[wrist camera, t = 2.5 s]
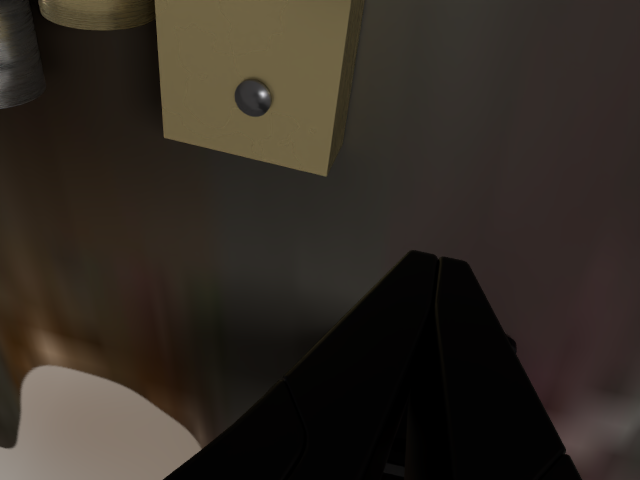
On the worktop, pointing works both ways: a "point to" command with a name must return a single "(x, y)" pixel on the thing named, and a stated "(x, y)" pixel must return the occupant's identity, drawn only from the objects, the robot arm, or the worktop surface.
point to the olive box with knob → (244, 70)
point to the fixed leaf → (19, 55)
